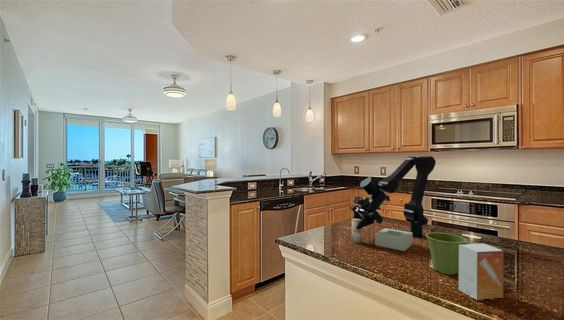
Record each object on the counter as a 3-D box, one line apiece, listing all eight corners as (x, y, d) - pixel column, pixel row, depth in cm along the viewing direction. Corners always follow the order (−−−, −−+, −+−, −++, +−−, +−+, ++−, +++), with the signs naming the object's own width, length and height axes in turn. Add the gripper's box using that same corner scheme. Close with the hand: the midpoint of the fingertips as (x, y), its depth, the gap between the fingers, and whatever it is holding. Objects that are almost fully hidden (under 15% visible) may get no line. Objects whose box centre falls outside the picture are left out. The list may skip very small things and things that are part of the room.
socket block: (384, 238, 124) (384, 228, 124) (412, 243, 116) (412, 232, 116) (375, 245, 115) (375, 233, 115) (404, 251, 107) (404, 238, 107)
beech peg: (354, 239, 123) (354, 218, 123) (363, 241, 120) (363, 219, 120) (349, 242, 119) (349, 220, 119) (359, 244, 116) (359, 221, 116)
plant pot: (476, 278, 82) (476, 242, 82) (437, 278, 83) (437, 242, 83) (452, 263, 94) (452, 232, 94) (419, 263, 95) (418, 232, 95)
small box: (477, 301, 69) (477, 251, 69) (457, 289, 76) (457, 244, 75) (504, 299, 70) (504, 250, 70) (483, 287, 77) (483, 242, 77)
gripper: (353, 187, 129) (332, 211, 126) (377, 192, 112) (354, 220, 108) (367, 203, 132) (347, 227, 129) (392, 209, 114) (370, 237, 111)
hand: (354, 227), depth 119 cm, fingers closed on beech peg, 4 cm apart
